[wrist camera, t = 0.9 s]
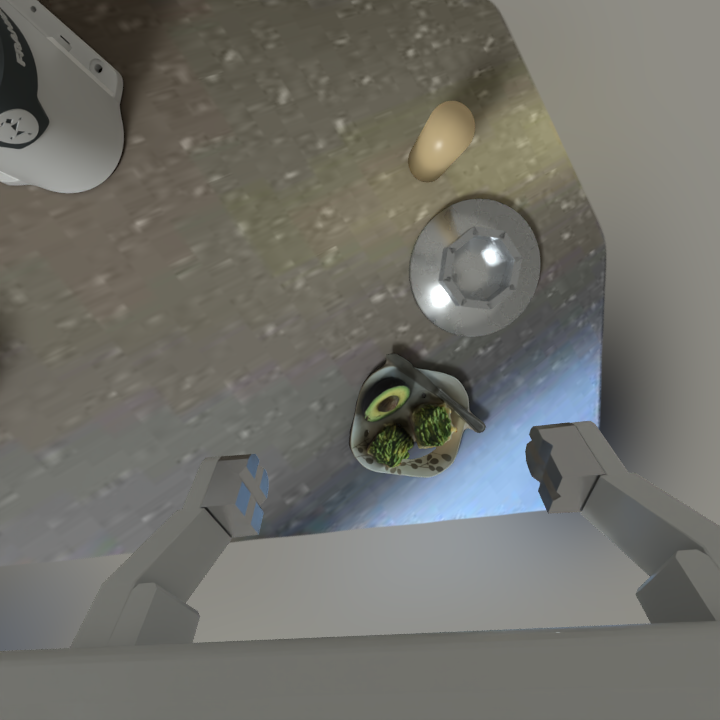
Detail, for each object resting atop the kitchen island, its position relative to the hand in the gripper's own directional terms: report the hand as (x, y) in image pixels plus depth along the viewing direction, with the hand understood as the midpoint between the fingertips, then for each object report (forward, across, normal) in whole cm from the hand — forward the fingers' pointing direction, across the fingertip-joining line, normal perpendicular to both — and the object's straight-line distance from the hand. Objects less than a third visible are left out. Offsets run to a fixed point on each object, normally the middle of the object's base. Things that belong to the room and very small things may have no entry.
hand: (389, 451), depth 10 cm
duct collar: (+38, -13, +14) cm, 43 cm away
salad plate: (+28, -1, +31) cm, 42 cm away
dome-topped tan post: (+44, -8, +1) cm, 45 cm away
